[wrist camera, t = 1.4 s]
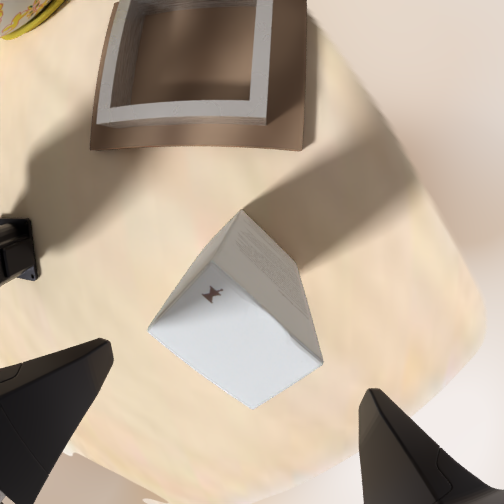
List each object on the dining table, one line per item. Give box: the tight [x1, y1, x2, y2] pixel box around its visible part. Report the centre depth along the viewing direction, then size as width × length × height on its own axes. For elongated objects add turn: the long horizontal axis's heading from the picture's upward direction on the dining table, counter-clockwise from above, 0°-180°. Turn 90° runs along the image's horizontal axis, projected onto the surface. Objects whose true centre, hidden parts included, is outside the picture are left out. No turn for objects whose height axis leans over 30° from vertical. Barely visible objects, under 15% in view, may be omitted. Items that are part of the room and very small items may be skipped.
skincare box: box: [148, 210, 323, 409], centre depth 16 cm, size 6×4×12 cm
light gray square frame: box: [96, 0, 273, 128], centre depth 15 cm, size 11×11×3 cm
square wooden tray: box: [90, 0, 307, 151], centre depth 17 cm, size 16×14×1 cm
